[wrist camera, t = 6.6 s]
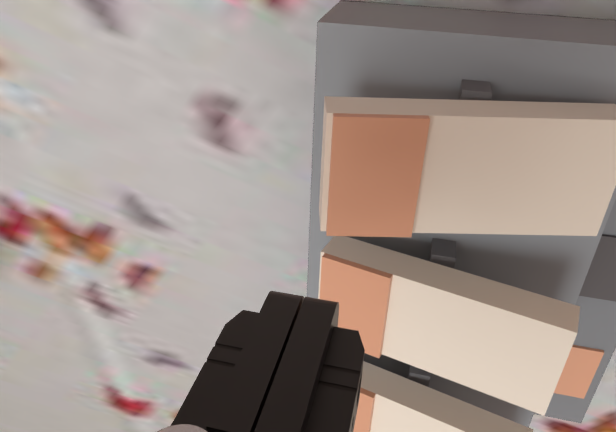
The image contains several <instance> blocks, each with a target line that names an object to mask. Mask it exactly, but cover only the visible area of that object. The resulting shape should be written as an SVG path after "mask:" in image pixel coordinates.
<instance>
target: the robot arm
mask: <svg viewBox="0 0 616 432" xmlns="http://www.w3.org/2000/svg"><path fill="white" fill-rule="evenodd" d="M338 316H339V302H334V301H328V300H322V299H317V298H311V297H305V298H304V297H303V296H298V295H293V294H287V293H281V292H275V291H270V292H269V294H268V296H267V298H266V300H265V302H264V304H263V306H262V308H261V311H260V313H257V312H251V311H246V310H243V311H241V312H240V313H239V314H238V315H236V316H235V317H234V318H233V319H231V320H230V321H229V322H228V323H227V324H225V326H224V328H223V330H222V332H221V334H220V335H219V337H218V339H217V341H216V343H215V347H213V349H212V350H211V352H210V354H209V356H208V358H207V362H205V363H204V365H203V367H202V369H201V371H200V373H199V375H198V377H197V378H196V380H195V382H194V384H193V386H192V388H191V390H190V391H189V393H188V395H187V397H186V399H185V401H184V403H183V405H182V406H181V408H180V410H179V412H178V414H177V416H176V418H175V419H174V421H173V423H172V424H171V426H169V427H166V428H163V429H161V430H159V431H157V432H353V430H354V425H355V420H356V414H357V409H358V404H359V398H360V389H361V380H362V371H363V362H364V353H365V350H364V347H363V343H362V340H361V337H360V334H359V331H357V330H351V329H346V328H340V327H338Z"/></svg>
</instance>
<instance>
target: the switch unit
mask: <svg viewBox="0 0 616 432" xmlns="http://www.w3.org/2000/svg"><path fill="white" fill-rule="evenodd" d="M324 96H331V97H370V98H410V99H449V100H488V101H527V102H566V103H605V104H616V20H604V19H590V18H576V17H562V16H549V15H535V14H521V13H507V12H494V11H480V10H466V9H452V8H438V7H425V6H411V5H397V4H383V3H370V2H356V1H342V0H341V1H340V2H339V3H338V4H337V5H335V6H334V7H333V8H332V9H331V10H330V11H329V12H328V13H327V14H326V15H324V16H323V17H322V18H321V19H320V20H319V21H318V22H317V46H316V72H315V97H314V123H313V148H312V174H311V200H310V225H309V251H308V276H307V297H311V298H317V299H318V292H319V274H320V255H321V251H322V249H323V248H324V247H325V246H326V245H327V244H328V243H329V241H330V240H331V239H332V238H333V237H334V236H326V231H320V216H319V198H320V178H321V157H322V137H323V116H324ZM346 237H350V238H353V239H356V240H360V241H363V242H366V243H370V244H373V245H376V246H380V247H383V248H386V249H390V250H393V251H396V252H400V253H403V254H406V255H410V256H413V257H416V258H420V259H423V260H426V261H430V262H433V263H436V264H440V265H443V266H446V267H450V268H453V269H456V270H460V271H463V272H466V273H470V274H473V275H476V276H480V277H483V278H487V279H490V280H493V281H497V282H500V283H503V284H507V285H510V286H513V287H517V288H520V289H523V290H527V291H530V292H533V293H537V294H540V295H543V296H547V297H550V298H553V299H557V300H560V301H563V302H567V303H570V304H573V305H577V306H580V314H579V323H578V333H577V336H576V338H575V341H574V343H573V346H572V348H571V351H570V353H569V356H568V358H567V361H566V363H565V366H564V368H563V371H562V373H561V376H560V378H559V381H558V383H557V386H556V388H555V391H554V393H553V396H552V398H551V401H550V403H549V406H548V408H547V411H546V413H545V416H548V417H553V418H558V419H563V420H568V421H573V422H578V423H581V422H582V420H583V418H584V415H585V413H586V411H587V409H588V407H589V404H590V402H591V400H592V398H593V396H594V394H595V391H596V389H597V387H598V385H599V383H600V380H601V378H602V376H603V374H604V372H605V370H606V367H607V365H608V363H609V361H610V359H611V356H612V354H613V352H614V350H615V348H616V186H615V189H614V192H613V194H612V197H611V200H610V202H609V205H608V208H607V210H606V213H605V216H604V218H603V221H602V224H601V226H600V229H599V232H598V234H597V236H564V235H508V234H453V233H412V237H362V236H346ZM364 361H365V362H367V363H370V364H372V365H375V366H377V367H380V368H382V369H385V370H387V371H390V372H392V373H395V374H397V375H400V376H402V377H404V378H407V379H409V380H412V381H414V382H417V383H419V384H422V385H424V386H427V387H429V388H432V389H434V390H437V391H439V392H442V393H444V394H447V395H449V396H452V397H454V398H457V399H459V400H461V401H464V402H466V403H469V404H471V405H474V406H476V407H479V408H481V409H484V410H486V411H489V412H491V413H494V414H496V415H499V416H501V417H504V418H506V419H509V420H511V421H513V422H516V423H518V424H521V425H523V426H526V427H528V428H529V425H530V422H531V420H532V417H533V414H538V413H535V412H533V411H530V410H527V409H525V408H522V407H519V406H517V405H514V404H512V403H509V402H506V401H504V400H501V399H498V398H496V397H493V396H491V395H488V394H485V393H483V392H480V391H477V390H475V389H472V388H469V387H467V386H464V385H462V384H459V383H456V382H454V381H451V380H448V379H446V378H443V377H441V376H438V375H435V374H433V373H430V372H427V371H425V370H422V369H419V368H417V367H414V366H412V365H409V364H406V363H404V362H401V361H398V360H396V359H393V358H391V357H388V356H385V355H383V354H381V356H380V358H376V357H374V356H371V355H369V354H366V353H364ZM538 415H541V414H538Z"/></svg>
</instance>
